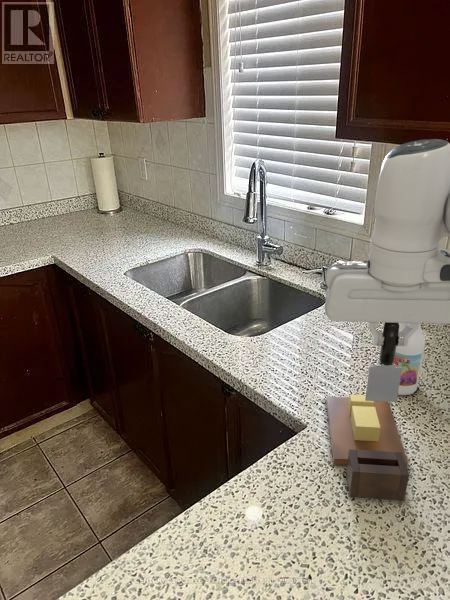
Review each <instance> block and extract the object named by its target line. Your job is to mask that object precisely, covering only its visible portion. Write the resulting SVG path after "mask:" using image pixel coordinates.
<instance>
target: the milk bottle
mask: <svg viewBox="0 0 450 600" xmlns="http://www.w3.org/2000/svg"><path fill="white" fill-rule="evenodd" d="M406 325H407V323H399V332H402V330H403V329H404V328H405V326H406ZM421 325H422V324H421V323H419V326H418V329H417V330H416V331H415V332H414V333H413V335H412V336H411V337H410V338H409V339H408V344H407V346H397V345H396V352H395V358H394V365H395V366H402V372H401V378H400V384H399V390H398V396H410V395H412V394H414V393H415V392H416V391H417V389H418V386H419V381H420V376H421V371H422V365H423V360H424V354H425V348H426V342H425V336H424V334H423V330H422V326H421Z"/></svg>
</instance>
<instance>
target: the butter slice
mask: <svg viewBox="0 0 450 600" xmlns="http://www.w3.org/2000/svg"><path fill="white" fill-rule="evenodd" d="M348 397H349V406H348V408H349V414H351V410H352V406H367V407H373V404H374V401H365V397H366V394H353V393H352V394H349V396H348Z"/></svg>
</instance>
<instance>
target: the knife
mask: <svg viewBox="0 0 450 600" xmlns="http://www.w3.org/2000/svg"><path fill="white" fill-rule="evenodd" d="M382 329H383V330H382V332H383V335H384V341H383V343H384V344H383V346H380V352H379V360H377V364H369V366H368V372H367V373H368V374H367V381H366V390H365V395H366V397H365V401H381V402H389V403H397V402H398V396H399V395H398V390H399V384H400V378H401V372H402V366H395V365H394V358H395V352H396V345H397V339H398V332H399V323H389V322H383V328H382Z"/></svg>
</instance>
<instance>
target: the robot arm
mask: <svg viewBox="0 0 450 600" xmlns="http://www.w3.org/2000/svg"><path fill="white" fill-rule="evenodd" d="M374 199H375V200H374V207H373V208H374V209H373V212H374V218H375V225H374V229H373V231H372V234H371V235H370V245H369V253H368V260H352V261H351V260H349V261H347V260H337V261H336V263H333V264H331V265H329V266H328V267H327V269H326V270H325V276H324V283H325V286H326V287H327V290H326V295H325V300H324V301H325V302H324V311H325V312H324V313H325V316H326V317H327V318H328V319H329V320H330V321H331V322H345V323H346V322H347V323H348V322H349V323H350V322H351V323H366V324H367V327H368V329H369V331H370V332H371V343H372V346H375V347H377V346H378V347H381V346H383V344H384V343H383V341H384V335H383V330H377V329H376V328H379V324H380V323H385V322H389V323H407V325H406V326H405V328H404V329H403V330H402V332H398V339H397V346H407V344H408V339H409V338H410V337H411V336H412V335H413V333H414V332H415V331H416V330H417V329H418V326H419V323H420V324H436V325H437V324H438V325H439V324H440V325H441V324H444V325H450V250H449V249H445V248H443V247H439V245H440V241H441V240H442V239H444V238H450V142H448V140H444V139H439V138H430V139H419V140H412V141H408V142H405V143H402V144H399V145H398V146H396V147H394V148H392V149H391V150H390V151H389V152H388V153H387V154H386V156H385V158H384V159H383V162H382V164H381V168H380V172H379V175H378V180H377V186H376V192H375V198H374Z"/></svg>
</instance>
